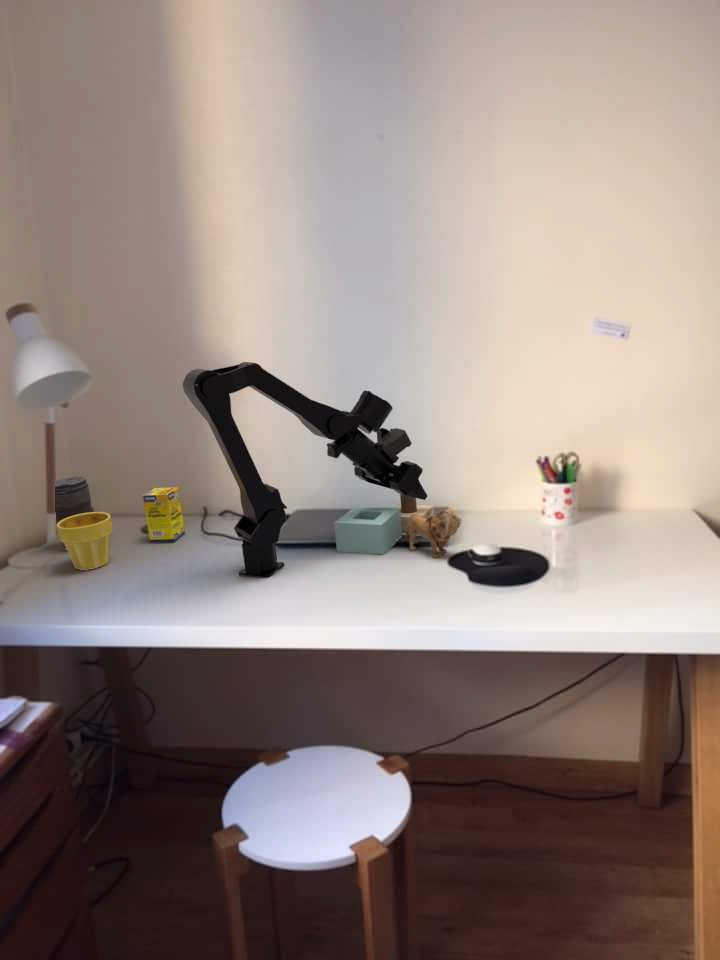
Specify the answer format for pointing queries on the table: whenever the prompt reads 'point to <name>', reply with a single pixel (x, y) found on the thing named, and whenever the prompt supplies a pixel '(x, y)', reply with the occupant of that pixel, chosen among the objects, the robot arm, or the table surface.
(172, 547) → the table surface
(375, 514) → the socket block
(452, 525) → the lion figurine
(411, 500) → the pin
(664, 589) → the table surface
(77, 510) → the camera lens
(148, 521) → the supplement box
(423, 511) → the pedestal
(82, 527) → the plant pot
